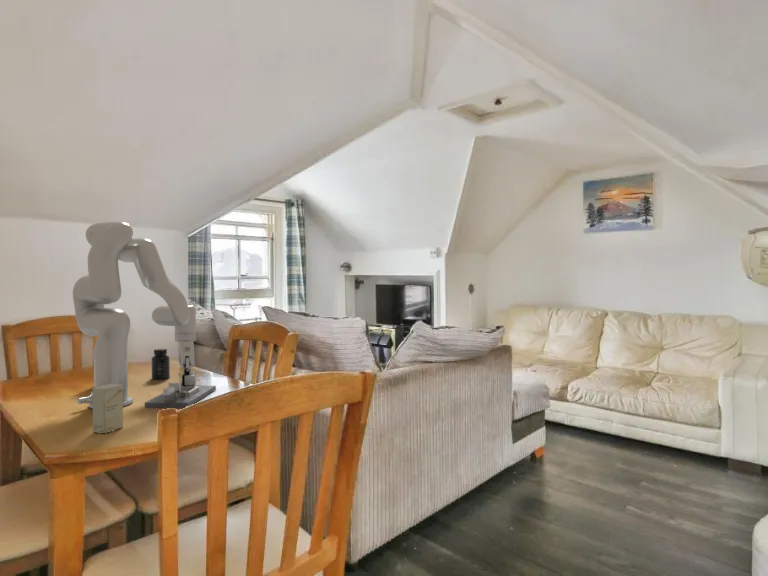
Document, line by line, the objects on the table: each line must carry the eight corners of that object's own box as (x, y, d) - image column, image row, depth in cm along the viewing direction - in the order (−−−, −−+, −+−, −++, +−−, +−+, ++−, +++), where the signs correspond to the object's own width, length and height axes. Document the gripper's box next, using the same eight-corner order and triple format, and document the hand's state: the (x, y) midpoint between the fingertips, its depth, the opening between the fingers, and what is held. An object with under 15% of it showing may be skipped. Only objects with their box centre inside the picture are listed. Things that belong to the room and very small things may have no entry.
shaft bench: (187, 407, 152) (187, 387, 151) (144, 407, 152) (144, 387, 152) (215, 389, 176) (215, 372, 175) (178, 389, 176) (178, 372, 176)
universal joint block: (179, 387, 179) (179, 369, 179) (177, 385, 183) (177, 367, 183) (195, 385, 182) (195, 367, 182) (193, 383, 186) (193, 365, 186)
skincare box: (105, 434, 126) (104, 389, 125) (91, 433, 127) (91, 388, 127) (124, 427, 132) (123, 384, 131) (111, 425, 133) (110, 383, 133)
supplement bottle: (173, 376, 198) (172, 348, 198) (164, 380, 191) (163, 350, 191) (157, 376, 199) (157, 348, 199) (148, 379, 192) (147, 350, 192)
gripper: (198, 339, 176) (199, 387, 177) (193, 334, 191) (193, 378, 192) (177, 340, 173) (177, 389, 173) (172, 335, 188) (173, 380, 188)
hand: (185, 383), depth 182 cm, fingers open, 5 cm apart
